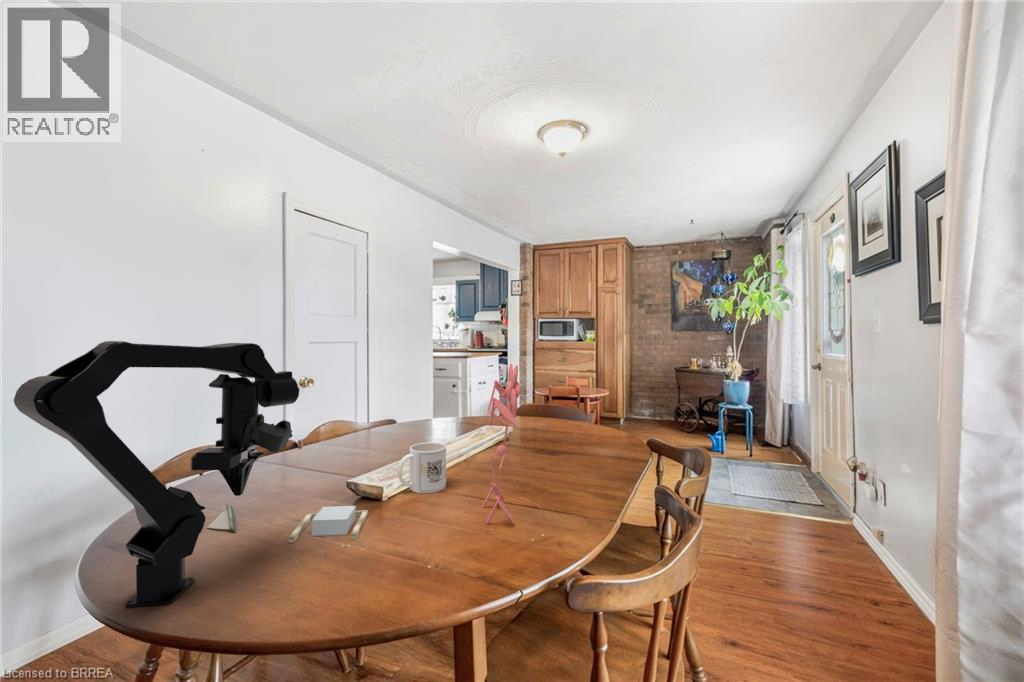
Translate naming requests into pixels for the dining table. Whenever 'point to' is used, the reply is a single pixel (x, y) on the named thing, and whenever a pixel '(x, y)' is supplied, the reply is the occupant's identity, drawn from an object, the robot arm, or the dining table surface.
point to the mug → (425, 467)
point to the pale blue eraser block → (334, 520)
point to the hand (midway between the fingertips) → (238, 495)
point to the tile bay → (309, 516)
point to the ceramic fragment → (225, 520)
